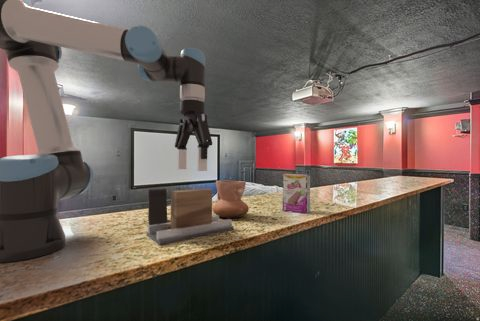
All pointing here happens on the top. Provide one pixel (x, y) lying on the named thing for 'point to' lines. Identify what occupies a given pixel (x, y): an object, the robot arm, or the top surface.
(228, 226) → the door track
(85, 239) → the top surface
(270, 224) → the top surface
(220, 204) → the ceramic jug
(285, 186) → the candy bar box
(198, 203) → the brown wooden block
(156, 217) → the door stopper
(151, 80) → the robot arm
